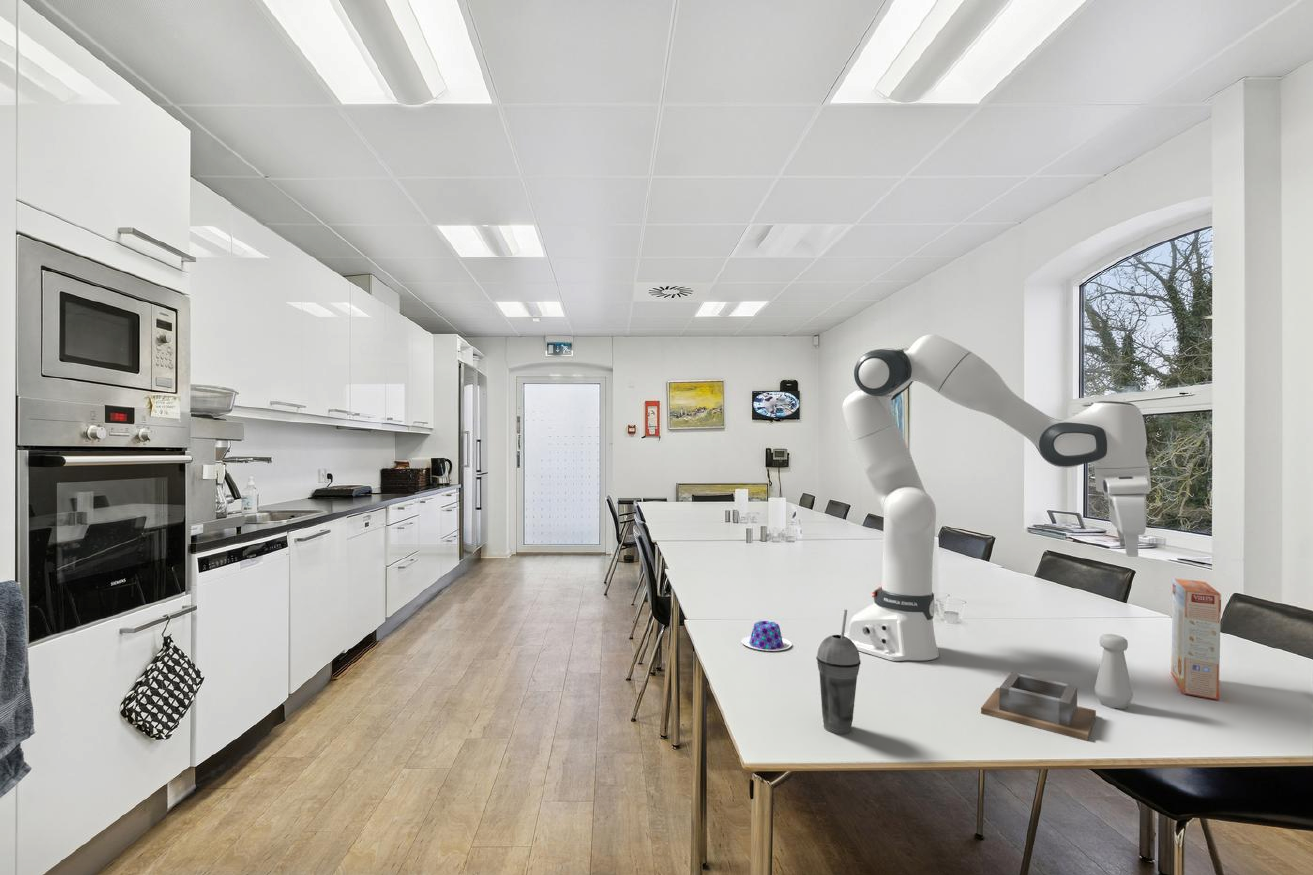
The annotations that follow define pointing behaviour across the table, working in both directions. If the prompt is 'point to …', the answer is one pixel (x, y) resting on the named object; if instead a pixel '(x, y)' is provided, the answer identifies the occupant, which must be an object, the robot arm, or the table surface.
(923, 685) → the table surface
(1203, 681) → the cracker box
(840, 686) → the beverage cup
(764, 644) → the pudding
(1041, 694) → the socket block
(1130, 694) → the salt shaker
